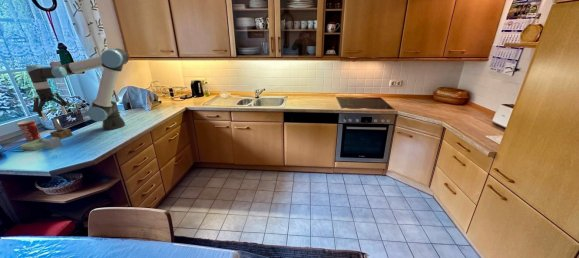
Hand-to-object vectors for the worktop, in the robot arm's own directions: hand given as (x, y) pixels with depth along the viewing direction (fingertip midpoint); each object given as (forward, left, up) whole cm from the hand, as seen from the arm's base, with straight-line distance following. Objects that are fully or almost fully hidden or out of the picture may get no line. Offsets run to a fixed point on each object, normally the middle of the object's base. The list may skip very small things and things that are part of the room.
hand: (55, 117), depth 172 cm
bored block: (0, 0, -15) cm, 15 cm away
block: (+15, +13, -15) cm, 25 cm away
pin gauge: (0, 0, -15) cm, 15 cm away
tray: (+16, +1, -15) cm, 22 cm away
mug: (+7, -16, -16) cm, 24 cm away
